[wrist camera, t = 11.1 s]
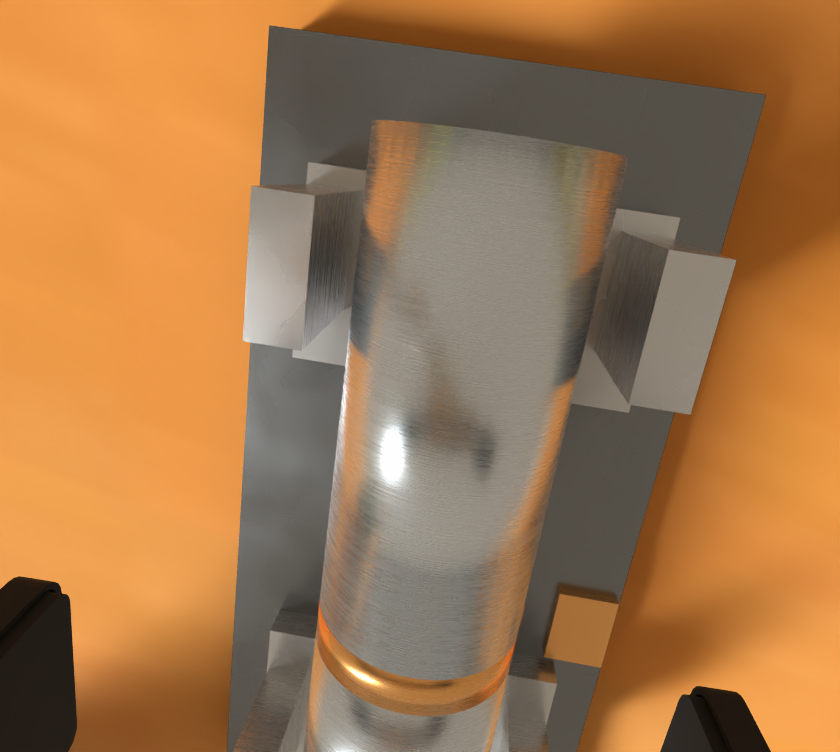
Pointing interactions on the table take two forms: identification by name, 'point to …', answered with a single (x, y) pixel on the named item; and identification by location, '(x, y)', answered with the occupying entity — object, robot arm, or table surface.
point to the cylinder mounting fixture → (598, 374)
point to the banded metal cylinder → (450, 425)
